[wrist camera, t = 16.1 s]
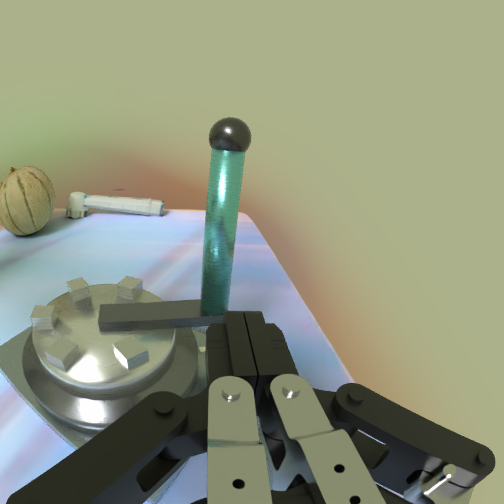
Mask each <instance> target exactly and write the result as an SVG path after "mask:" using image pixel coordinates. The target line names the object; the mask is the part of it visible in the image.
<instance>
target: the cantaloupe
mask: <svg viewBox="0 0 504 504" xmlns="http://www.w3.org/2000/svg"><path fill="white" fill-rule="evenodd" d="M10 171H11V173H9V174H8V175H7V176H6V177H5V178H4V179H3V180H2V182H1V183H0V222H1V224H2V225H3V227H4V228H5V229H6V230H7V231H9V232H10V233H13V234H16V235H28V234H32V233H35V232H36V231H39V230H40V229H42V228H43V227H44V226H45V225H46V224H47V222H48V221H49V219H50V217H51V215H52V212H53V210H54V205H55V192H54V188H53V185H52V183H51V181H50V179H49V178H48V176H47V175H46V174H45V173H44V172H43V171H42V170H40V169H38V168H36V167H32V166H24V167H21V168H18V169H14V168H13V167H11V169H10Z"/></svg>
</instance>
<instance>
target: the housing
mask: <svg viewBox="0 0 504 504" xmlns="http://www.w3.org/2000/svg"><path fill="white" fill-rule="evenodd" d="M32 331H33V326H31V327H30V328H28V329H26V330H25V331H23V332H22V333H20V334H18V335H17V336H15V337H14V338H12V339H11V340H9V341H8V342H6V343H5V344H3V345H1V346H0V372H1V373H2V374H3V376H4V377H5V378H6V379H7V381H8V382H9V383H10V384H11V385H12V387H13V388H14V389H15V390H16V391H17V393H18V394H19V395H20V396H21V397H22V398H23V399H24V400H25V402H26V403H27V404H28V405H29V406H30V407H31V408H32V409H33V410H34V411H35V412H36V413H37V414H38V415H39V416H40V417H41V418H42V419H43V420H44V421H45V422H46V423H47V424H48V425H49V426H50V427H51V428H52V429H53V430H54V431H55V432H56V433H57V434H58V435H59V436H60V437H61V438H63V439H64V440H65V441H66V442H67V443H68V444H69V445H70V446H72V447H73V448H74V449H75V450H77V449H78V448H80V447H81V446H82V445H84V444H85V443H87V442H88V441H89V440H91V439H92V438H93V437H95V436H96V435H97V434H99V433H100V432H101V431H103V430H104V429H105V428H107V427H108V426H109V425H111V424H112V423H113V422H114V421H116V420H117V419H118V418H120V417H121V416H122V415H124V414H125V413H126V412H127V411H129V410H130V409H131V408H133V407H134V406H135V405H136V404H138V403H139V402H140V401H141V400H143V399H144V398H145V397H146V396H148V395H149V394H151V393H154V392H158V391H169V392H173V393H175V394H177V395H179V396H180V397H182V398H187V397H191V396H195V395H197V394H199V393H201V392H202V391H203V390H204V389H205V388H206V387H207V383H206V365H205V349H206V334H204V333H201V332H199V331H196V330H194V329H191V328H190V327H187V328H175V340H176V351H175V357H174V360H173V362H172V365H171V367H170V368H169V370H168V371H167V373H166V374H165V375H164V376H163V377H162V378H161V379H160V380H159V381H158V382H157V383H155V384H154V385H153V386H151V387H150V388H148V389H146V390H145V391H142V392H140V393H138V394H136V395H133V396H130V397H127V398H122V399H117V400H108V401H98V400H89V399H83V398H80V397H76V396H73V395H71V394H69V393H67V392H65V391H63V390H62V389H60V388H59V387H57V386H56V385H55V384H54V383H53V382H52V381H51V380H50V379H49V377H48V376H47V375H46V373H45V371H44V369H43V367H42V364H41V362H40V360H39V357H38V355H37V352H36V350H35V347H34V344H33V338H32ZM189 458H190V457H189ZM189 458H188V460H189ZM188 460H187V461H188ZM187 461H186V462H187ZM186 462H185V463H184V464H183V465H182V466H181V467H180V468H179V469H178V470H177V471H176V472H175V473H174V474H173V475H172V476H171V477H170V478H169V479H168V480H167V481H166V482H165V483H164V484H163V485H162V486H161V487H160V488H159V489H158V490H157V491H156V492H154V493H153V494H152V495H151V496H150V497H149V498H148V499H147V501H149V502H151V503H152V504H157V502H158V501H159V500H160V498H161V497H162V496H163V494H164V493H165V492H166V490H167V489H168V488H169V486H170V485H171V483H172V482H173V481H174V479H175V478H176V476H177V475H178V474H179V472H180V471H181V469H182V468H183V467H184V465H185V464H186Z"/></svg>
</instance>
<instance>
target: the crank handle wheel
mask: <svg viewBox="0 0 504 504" xmlns="http://www.w3.org/2000/svg"><path fill="white" fill-rule="evenodd" d="M209 142H210V145H211V148H212V152H211V162H210V173H209V183H208V195H207V206H206V218H205V232H204V246H203V263H202V281H201V299H199V300H183V301H166V302H163V301H162V300H161V299H160V298H158V297H157V296H155V295H154V294H152V293H150V292H147V291H145V290H143V287H142V280H141V279H137V278H133V277H129V276H126V277H125V278H124V279H123V280H122V281H120V282H119V283H118V284H102V285H92V286H89V285H88V284H87V283H86V281H85V280H84V279H83V278H78V279H75V280H72V281H69V282H67V287H68V292H67V293H65V294H63V295H61V296H59V297H57V298H56V299H54V300H53V301H51V302H50V303H49V304H48V305H47V306H35V308H34V310H33V312H32V315H31V317H30V318H31V322H32V325H33V331H32V338H33V344H34V347H35V350H36V352H37V355H38V357H39V360H40V362H41V364H42V367H43V369H44V371H45V373H46V375H47V376H48V377H49V379H50V380H51V381H52V382H53V383H54V384H55V385H56V386H57V387H59V388H60V389H62V390H63V391H65V392H67V393H69V394H71V395H73V396H76V397H80V398H83V399H89V400H98V401H108V400H117V399H122V398H127V397H130V396H133V395H136V394H138V393H140V392H142V391H145V390H146V389H148V388H150V387H151V386H153V385H154V384H155V383H157V382H158V381H159V380H160V379H161V378H162V377H163V376H164V375H165V374H166V373H167V371H168V370H169V368H170V367H171V365H172V362H173V360H174V357H175V351H176V340H175V328H187V327H199V326H210V324H211V323H223V313H224V311H228V303H229V293H230V283H231V273H232V264H233V254H234V245H235V236H236V227H237V218H238V209H239V201H240V192H241V184H242V175H243V167H244V158H245V152H246V150H247V149H248V147H249V145H250V143H251V132H250V130H249V127H248V126H247V125H246V124H245V123H244V122H243V121H242V120H240V119H237V118H233V117H228V118H223V119H221V120H219V121H218V122H216V123H215V124H214V125H213V127H212V128H211V130H210V134H209Z"/></svg>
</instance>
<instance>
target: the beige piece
mask: <svg viewBox="0 0 504 504" xmlns="http://www.w3.org/2000/svg"><path fill="white" fill-rule="evenodd" d="M163 205H164V201H159V200H152V199H151V198H149V199H142V198H129V197H113V196H97V195H86V194H85V193H82V192H72V193H71V195H70V199H69V203H67V204H66V205H65V208H66V209H67V212H66V215H67V217H69V216H71V217H72V218H74V219H77V218H79V217H81V218H84V217H86V216H87V211H88V210H89V208H97V209H104V210H112V211H120V212H127V213H135V214H142V215H147V216H148V215H149V216H162V212H163Z"/></svg>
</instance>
